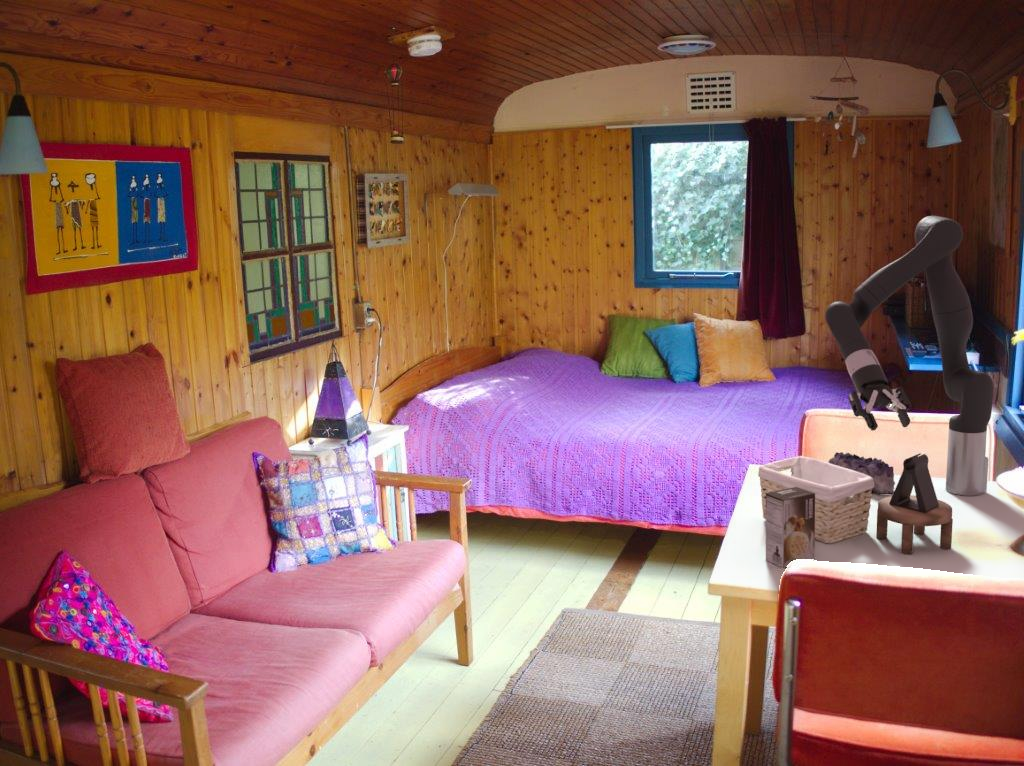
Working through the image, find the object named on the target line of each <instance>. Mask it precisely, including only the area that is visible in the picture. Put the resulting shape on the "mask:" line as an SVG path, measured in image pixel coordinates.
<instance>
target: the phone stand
mask: <svg viewBox="0 0 1024 766" xmlns="http://www.w3.org/2000/svg"><path fill="white" fill-rule="evenodd" d="M902 465H903V469H902V473H901V475H900V478H899V479H898V482H897V484H896V487H895V488H894V493H893V494H892V495H891V496H892V498H891V500H890V503H889V504H890V505H893V506H897V507H902V508H906V509H907V508H908V509H910V510H914V511H919V512H923V513H926V512H928V511H930V510H932V509H934V508H936V507H938V506H939V503H938V500H939V499H938V497H937V494H936V490H935V487H934V484H933V483H934V482H933V480H932V477H931V473H930V470H929V458H928V456H927V454H925V453H923V454H921V452H920V453H917V454H915V455H913V456H910V457H908V458H906V459H904V460H903V463H902ZM913 488H914V492H915V496H916V498H917V500H913V499H910V495H911V494H912V493H913Z"/></svg>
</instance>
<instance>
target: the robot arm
mask: <svg viewBox="0 0 1024 766" xmlns="http://www.w3.org/2000/svg"><path fill="white" fill-rule="evenodd" d="M963 237H964V230H963V227H962V226H961V224H960V223H959V222H957V221H956V220H954V219H951V218H949V217H945V216H938V215H927V216H925V217H923V218H922V219H921V220H920V221H919V222H918V223H917V225H916V227H915V231H914V242H915V246H914V247H913V248H912V249H911V250H909V251H908V252H907V253H906V254H904V255H903V256H901V257H900V258H898V259H896V260H894V261H893V262H891V263H888V264H887V265H885V266H884V267H882V268H880V269H878V270H877V271H875V272H874V273H873V274H871V276H869V277H868V278H867V279H866V280H864V281H863V283H861V284H860V285H859V286H858V287H857V288H856V289H855V290H854V292H853V294H852V295H853V297H852V300H851V302H850V303H847V302H844V301H833V302H832V303H830V304H829V305H828V306H827V307H826V310H825V313H824V318H825V323H827V326H828V328H829V330H830V331H831V334H832V335H833V338H834V339H835V342H836V343H837V345H838V349H839V352H840V354H841V356H842V358H843V360H844V363H845V365H846V370H847V372H848V374H849V376H850V378H851V381H852V383H853V385H854V388H855V390H853V391H851V392H850V393H849V396H847V398H848V401H849V404H850V406H851V409H852V413H853V415H854V417H862V418H863V419H864V421H865V423H866V426H867V427H868V428H869V429H870V431H876V430H877V428H878V427H879V425H878V423H877V421H876V418H875V416H874V414H873V413H872V410H873V409H879V408H880V409H885V408H887V409H888V410H889V411H893V412H894V413H896V414H897V417H898V419H899V422H900V423H901V426H902V428H907V427H908V426H909V425H910V424H911V418H910V416H909V415H908V411H909V410H910V408H911V407H912V403H911V400H910V399H909V398H908V395H907V394H906V392H905V390H904V388H903V387H902V386H898V387H897V388H891V387H890V386H889V382H888V378H887V377H886V374H885V372H884V370H883V368H882V366H881V364H880V362H879V359H878V357H877V355H876V354H875V353H874V351H873V349H872V347H871V345H870V343H869V341H868V339H867V338H866V336H865V335H864V333H863V332H862V329H861V328H862V326H863V325H864V324H865V323H866V321H868V319H869V318H870V316H871V315H872V314H873V312H874V311H875V310H876V309H877V308H879V307H880V305H882V304H883V303H884V302H886V300H888V299H889V298H890V297H891V296H892V295H893V294H895V292H897V291H898V290H899V289H901V288H902V287H903V286H904V285H905V284H906V283H908V282H909V281H911V280H912V279H914V278H915V277H916V276H918V275H919V274H921V273H922V272H924V275H925V279H926V285H927V291H928V295H929V301H930V307H931V312H932V317H933V323H934V326H935V329H936V330H935V331H936V334H937V339H938V340H937V341H938V345H939V351H940V359H941V368H942V380H943V387H944V390H945V391H944V392H945V393H946V395H947V397H949V399H951V400H952V401H955V402H957V403H960V404H961V411H960V414H956V415H953V416H951V417H950V418H949V420H948V439H947V457H946V475H945V476H946V478H945V490H946V491H947V492H949V493H950V494H954V495H960V496H969V497H970V496H979V495H981V494H983V493H987V492H988V491H987V490H988V488H987V487H988V476H989V475H988V472H989V457H987V456H986V449H987V448H986V446H987V433H988V432H987V431H988V425H989V423H990V420H991V417H992V412H993V411H992V410H993V402H994V394H995V392H994V391H995V387H994V381H993V378H992V377H991V375H989V374H988V373H986V372H983V371H980V370H975V369H971V367H970V363H969V361H968V356H967V344H968V341H969V338H970V335H971V333H972V329H973V325H974V317H973V316H974V315H973V310H972V304H971V300H970V296H969V294H968V292H967V289H966V287H965V285H964V284H963V282H962V280H961V278H960V276H959V274H958V273H957V271H956V268H955V266H954V262H953V257H952V252H954V251H956V250H957V249H958V247H959V246H960V245H961V244H962V242H963ZM861 401H862V402H864V403H865V404H864V407H863V405H862V403H861ZM891 402H892V403H891Z"/></svg>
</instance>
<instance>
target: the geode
mask: <svg viewBox="0 0 1024 766" xmlns="http://www.w3.org/2000/svg"><path fill="white" fill-rule="evenodd" d="M833 455H834V456H833V457H832V458H830V459H829V460H828V463H830V464H833V465H837V466H840V467H844V468H847V469H851V470H854V471H857V472H860V473H863V474H865V475H868V476H870V477H872V478H873V482H874V488H872V492H875V493H876V494H878V495H880V494H891V495H893V493H894V491H895V484H896V481H895V480H894V479H895V473H894V466H892V465H891V466H890V465H889V463H886V462H885V461H884V460H882V459H881V458H880V459H878V458H876V457H874V458H872V457H868V458H865V457H864V456H859V455H857V454H855V453H854V454H851V453H849V452H846V453H844V452H842V451H841V452H835V453H834V454H833Z"/></svg>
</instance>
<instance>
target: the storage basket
mask: <svg viewBox="0 0 1024 766" xmlns="http://www.w3.org/2000/svg"><path fill="white" fill-rule="evenodd" d="M787 470H790V475H789V474H786V473H783V471H787ZM757 475H758V477H759V482H760V483H759V486H760V488H761V489H760V493H761V495H760V497H761V506H762V507H761V508H762V518H763V519H764V520H766V493H769V492H774V491H779V490H783V489H788V488H793V487H798V488H801V489H804V490H807V491H810V492H813V493H815V540H817V541H820V542H823V543H825V544H834V543H837V542H840V541H844V540H847V539H850V538H853V537H856V536H861V535H863V534H864V533H866V532H867V531H868V525H869V517H870V509H871V506H872V505H871V502H872V501H871V500H872V492H873V491H872V488H874V482H873V478H872V477H870V476H868V475H865V474H863V473H860V472H857V471H854V470H851V469H847V468H844V467H840V466H837V465H833V464H830V463H829V462H827V461H824V460H821V459H817V458H812V457H808V456H803V455H798V456H793V457H789V458H784V459H781V460H777V461H773V462H769V463H766V464H762V465H760V466H759V467H758V473H757Z"/></svg>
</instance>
